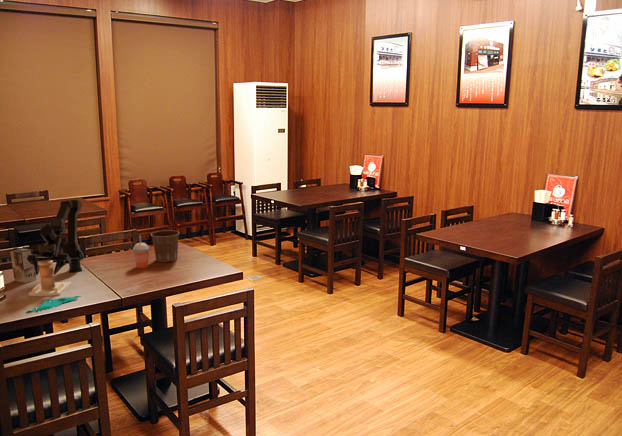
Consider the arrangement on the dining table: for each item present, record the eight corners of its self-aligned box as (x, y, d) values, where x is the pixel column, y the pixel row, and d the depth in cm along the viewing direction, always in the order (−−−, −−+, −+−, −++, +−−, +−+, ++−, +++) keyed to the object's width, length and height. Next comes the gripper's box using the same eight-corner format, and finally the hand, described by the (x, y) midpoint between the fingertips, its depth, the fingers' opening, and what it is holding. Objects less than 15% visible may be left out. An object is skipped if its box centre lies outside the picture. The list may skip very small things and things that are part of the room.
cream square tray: (43, 284, 257) (42, 278, 256) (72, 284, 258) (71, 278, 257) (29, 296, 241) (28, 289, 240) (59, 295, 242) (58, 288, 242)
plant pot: (159, 255, 308) (158, 229, 305) (185, 256, 306) (183, 230, 302) (147, 263, 292) (145, 236, 289) (174, 264, 290) (172, 236, 287)
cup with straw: (145, 269, 281) (143, 237, 277) (130, 268, 283) (128, 237, 279) (153, 264, 290) (151, 233, 286) (139, 263, 292) (136, 233, 288)
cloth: (78, 294, 245) (78, 290, 245) (88, 302, 235) (88, 297, 235) (18, 308, 228) (17, 303, 228) (26, 317, 218) (26, 312, 218)
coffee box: (37, 279, 265) (33, 249, 262) (25, 283, 260) (21, 252, 256) (25, 277, 269) (21, 247, 266) (13, 280, 263) (9, 250, 260)
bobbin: (49, 286, 250) (46, 259, 247) (59, 288, 248) (55, 260, 245) (38, 290, 245) (34, 262, 242) (47, 292, 242) (44, 264, 239)
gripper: (26, 238, 244) (17, 267, 236) (66, 237, 246) (59, 266, 237) (35, 250, 253) (27, 278, 245) (73, 248, 255) (67, 276, 246)
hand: (45, 274), depth 243 cm, fingers open, 8 cm apart
